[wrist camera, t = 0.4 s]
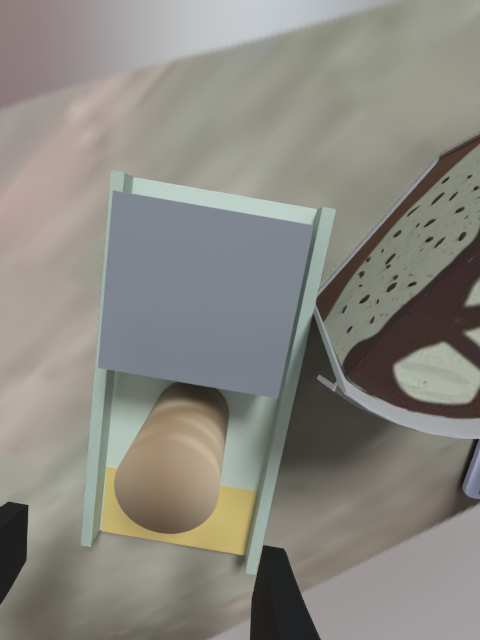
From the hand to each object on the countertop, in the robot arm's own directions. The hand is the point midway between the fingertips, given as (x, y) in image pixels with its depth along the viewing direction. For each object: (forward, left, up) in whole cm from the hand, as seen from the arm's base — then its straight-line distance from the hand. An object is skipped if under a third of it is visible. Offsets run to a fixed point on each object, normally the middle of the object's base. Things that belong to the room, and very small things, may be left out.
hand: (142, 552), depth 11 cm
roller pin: (0, 0, -9) cm, 9 cm away
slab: (0, -7, -9) cm, 11 cm away
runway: (0, -1, -10) cm, 10 cm away
